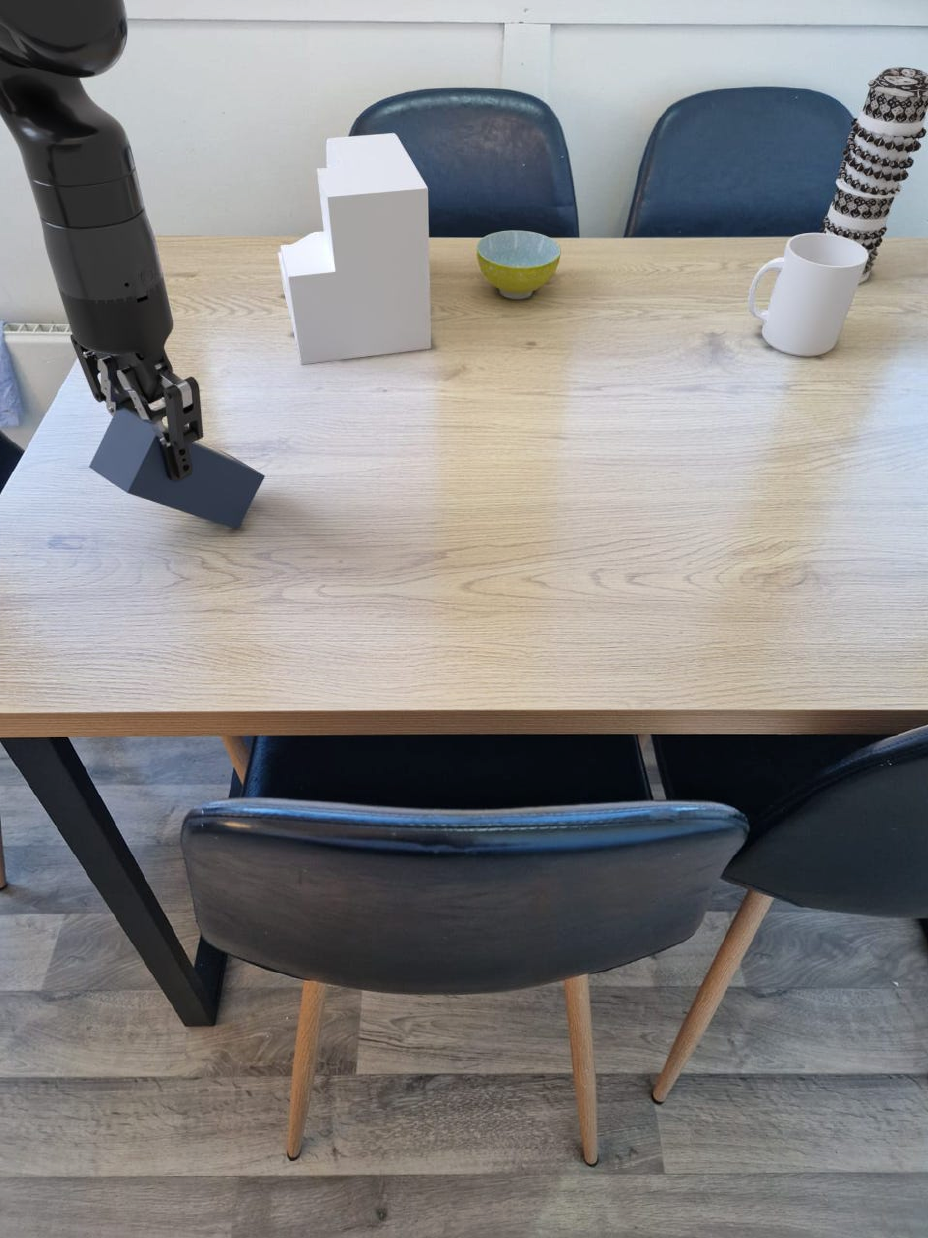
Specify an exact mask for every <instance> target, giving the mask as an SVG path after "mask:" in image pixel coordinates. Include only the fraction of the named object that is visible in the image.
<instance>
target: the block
mask: <svg viewBox="0 0 928 1238" xmlns="http://www.w3.org/2000/svg"><path fill="white" fill-rule="evenodd" d="M325 158H326V159H325V160H326V161H325V162H326V167H321V168H319V167H318V168H316V174H317V175H316V176H317V184H318V193H319V201H320V208H321V209H320V210H321V211H320V212H321V218H322V227H323V228H322V229H323V231H314V232H313V231H312V232H311V233H309V234H307V235H305V236H304V237H302V238H300V239H299V240H297V241H295V242H294V243H292V244H290V243H289V244H281V245H280V244H279V245H280V251H278V252H277V255H278V256H277V257H278V263H279V269H280V275H281V282H282V288H283V289H282V290H283V293H284V297H285V298H284V299H285V302H286V306H287V311H288V314H289V320H290V323H291V327H292V332H293V335H294V340H295V344H296V347H297V352H298V356H299V359H300V365H309V364H318V363H325V362H333V361H341V360H342V361H343V360H349V359H355V358H356V359H357V358H358V359H359V358H365V357H373V356H381V355H390V354H397V353H398V354H399V353H405V352H414V351H421V350H430V349H432V322H431V321H432V320H431V319H432V318H431V314H432V313H431V273H430V271H431V270H430V267H431V266H430V225H429V224H430V223H429V221H430V220H429V187H428V186H427V183H426V182H425V181H424V179H423V177H422V175H421V174H420V172H419V170H418V169H417V167H416V166H415V164H414V162H413V161H412V158H411V157H410V155H409V153H408V152H407V150H406V148H405V146H404V144H403V143H402V142H401V140H400V138H399V136H398V135H397V134H396V133H395V132H391V133H378V134H377V133H376V134H364V135H352V136H338V137H328V138H327V139H326V144H325Z"/></svg>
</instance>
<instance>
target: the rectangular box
mask: <svg viewBox="0 0 928 1238" xmlns="http://www.w3.org/2000/svg"><path fill="white" fill-rule="evenodd" d="M163 425H164V427H165V429H166V431H167V430H168V425H165V424H163ZM159 445H160V443H159V441H158V439H157V436H156V434H155V432H154V430H153V428H152V426H151V424H150V423H148V422H144V421H143V420H142V419H141V417H140V415H139V413H137V412H134V411H132V410H130V409H128V408H126V407H123V406H121V405H120V406H119V407H118V409H117V410H116V412H115V414H114V416H112V418H111V421H110V422H109V425H108V427H107V429H106V431H105V433H104V435H103V437H102V439H101V441H100V443H99V445H98V447H97V449H96V451H95V453H94V455H93V457H92V460H91V462H90V464H89V466H88V468H89V469H90V470H92V471H94V472H95V473H97V474H98V475H100V476H101V477H102V478H104V479H106V480H107V481H108V482H110V483H111V484H113V485H114V486H116V487H117V488H119V489H121V490H122V491H123V492H125V493H127V494H129V495H132V496H135V497H138V498H140V499H144V500H147V501H150V502H153V503H156V504H158V505H162V506H165V507H167V508H171V509H173V510H177V511H180V512H183V513H186V514H188V515H192V516H195V517H197V518H201V519H203V520H206V521H209V522H212V523H215V524H219V525H222V526H225V527H227V528H230V529H234V530H236V531H237V530H239V528H240V526H241V524H242V523H243V520H244V519H245V518H246V517H245V516H246V515H247V513H248V511H249V509H250V506H251V505H252V503H253V501H254V499H255V498H256V497H255V496H256V494H258V491H259V489H260V487H261V485H262V483H263V481H264V479H265V477H266V475H264V474H263V473H261V472H260V471H258V470H256V469H254V468H253V467H251V466H250V465H248V464H246V463H244V462H242V460H240V459H237V458H236V457H234V456H232V455H231V454H229V453H227V452H225V451H222V450H220V449H218V448H216V447H214V446H211V445H209V444H207V443H205V442H203V441H200V440H197V441H195V442H193V443H191V444H189V445H188V447H189V452H190V456H191V460H192V465H193V473H192V474H191V475H190V476H188V477H186V478H184V479H182V480H180V481H179V482H174V481H172V480H170V479H169V478H168V477H167V473H166V469H165V465H164V461H163V457H162V454H161V450H160V446H159Z"/></svg>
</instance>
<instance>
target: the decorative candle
mask: <svg viewBox="0 0 928 1238" xmlns="http://www.w3.org/2000/svg"><path fill="white" fill-rule="evenodd" d="M867 85H868V87H869V89H868V93H867V95H866V99H865V102H864V106H863V107H862V109H861V110H860V113H859V115H858V118H857V117H855V118H853V119H852V120H851V121H850V125H851V130H852V131H851V132H849V133H848V137H846V141H845V142H846V143H847V144H846V146H845V148H844V149H843V150H842V155H843V161H841V163H840V166H839V167H838V172H839V173H838V176H837V177H836V180H835V184H836V185H837V188H836V192H835V195H834V198H833V201H832V202H831V204H830V206H829V209H828V212H827V214H826V215H825V217H823V219H822V222H823V226H822V227H821V228H820V230H819V233H825V234H832V235H837V236H841V237H845V238H848V239H850V240H853V241H855V242H857V243H858V244H860V245H862V246H863V247H864V248H865V249H866V250H867V252H868V260H867V262H866V265H865V268H864V270H863V273H862V276H861V279H860V281H859V284H862V283H863V282H865V281H867V280H868V279H869V276H870V272H871V271H872V267H874V266H875V263H874V261H876V257H877V256H878V255H879V252H878V247H880V246H881V244H882V243H883V238H882V237H883V236H884V235H885V234H886V232H887V230H888V228H887V223H888V219H889V216H890V215H891V211H890V210H891V208H892V206H893V202H894V200H895V197H897V196H898V195H900V194H901V191H902V188H903V187H902V185H901V182H902V181H905V180H907V179H908V178H909V175H910V174H909V172H907V169H910V168H911V167H913V164H914V163H915V160H914V159H913V158H912V156H910V154H911V153H914V152H917V151H919V150H920V149H921V148H922V144H921V143H920V142H919V140H920V139H922V138H924V137H926V134H927V131H928V130H927V129H926V128H925V127H924V123H925V121H926V118H927V117H926V114H927V112H928V73H927V72H926V71H923V70H921V69H918V68H911V67H904V66H903V67H901V66H900V67H899V66H897V67H889V68H886V69H884V70H882V71H881V72H880V73H879V75H877V76H876V78H874V79H871V80H869V82H868V84H867Z"/></svg>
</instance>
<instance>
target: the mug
mask: <svg viewBox="0 0 928 1238" xmlns="http://www.w3.org/2000/svg"><path fill="white" fill-rule="evenodd" d="M867 260H868V252H867V250H866V249H865V248H864V247H863V246H862V245H860V244H858V243H857V242H855V241H853V240H850V239H848V238H845V237H841V236H837V235H832V234H825V233H820V232H807V233H805V232H804V233H801V234H796V235H794V236H792V237H790V238H789V239H788V240H787V241H786V245H785V248H784V252H783V256H781V257H775V258H773V259H771V260H769V261H768V262H766V263H765V264H764V265H762V266H761V267H760V268H759V270H758V271H757V273H756V274H755V275H754V278H753V280H752V282H751V284H750V288H749V292H748V299H747V306H748V310H749V313H750V314H751V315H752V317H753V318H754V319H757V320H758V321H760V322H761V323H762V329H761V334H762V338H763V339H764V340H765V341H766V342H767V344H768V345H769V346H770V347H772V348H773V349H775V350H777V351H779V352H781V353H784V354H787V355H790V356H794V357H796V356H797V357H805V358H806V357H807V358H808V357H817V356H820V355H821V356H822V355H823V354H825V353H828V352H829V351H831V350H833V348H834V347H835V346H836V344H837V342H838V340H839V339H840V335H841V333H842V330H843V327H844V324H845V321H846V319H847V316H848V313H849V311H850V308H851V306H852V302H853V300H854V297H855V294H856V292H857V289H858V287H859V285H860V283H859V281H860V279H861V276H862V273H863V270H864V268H865V265H866V262H867ZM769 271H776V272H777V274H776V279H775V282H774V286H773V289H772V292H771V296H770V299H769V301H768V302H769V303H768V306H767V309H765V310H762V311H761V310H758V308H757V306H756V302H755V299H756V291H757V287H758V284H759V283H760V280H761V278H763V276H764V275H765V274H766V273H767V272H769Z"/></svg>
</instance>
